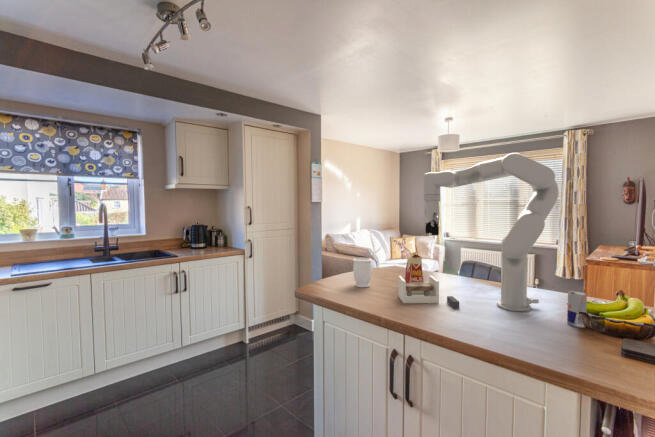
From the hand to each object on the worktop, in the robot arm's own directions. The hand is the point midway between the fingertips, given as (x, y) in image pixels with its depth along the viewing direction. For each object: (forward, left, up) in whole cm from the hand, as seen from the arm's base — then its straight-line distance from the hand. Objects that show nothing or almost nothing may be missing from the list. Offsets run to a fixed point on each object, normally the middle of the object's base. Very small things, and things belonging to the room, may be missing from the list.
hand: (431, 234), depth 149 cm
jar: (+32, -20, -31) cm, 49 cm away
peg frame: (+8, +5, -30) cm, 32 cm away
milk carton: (+5, -14, -31) cm, 34 cm away
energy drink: (-42, +36, -31) cm, 63 cm away
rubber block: (-5, +14, -30) cm, 34 cm away
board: (+8, +5, -25) cm, 27 cm away
